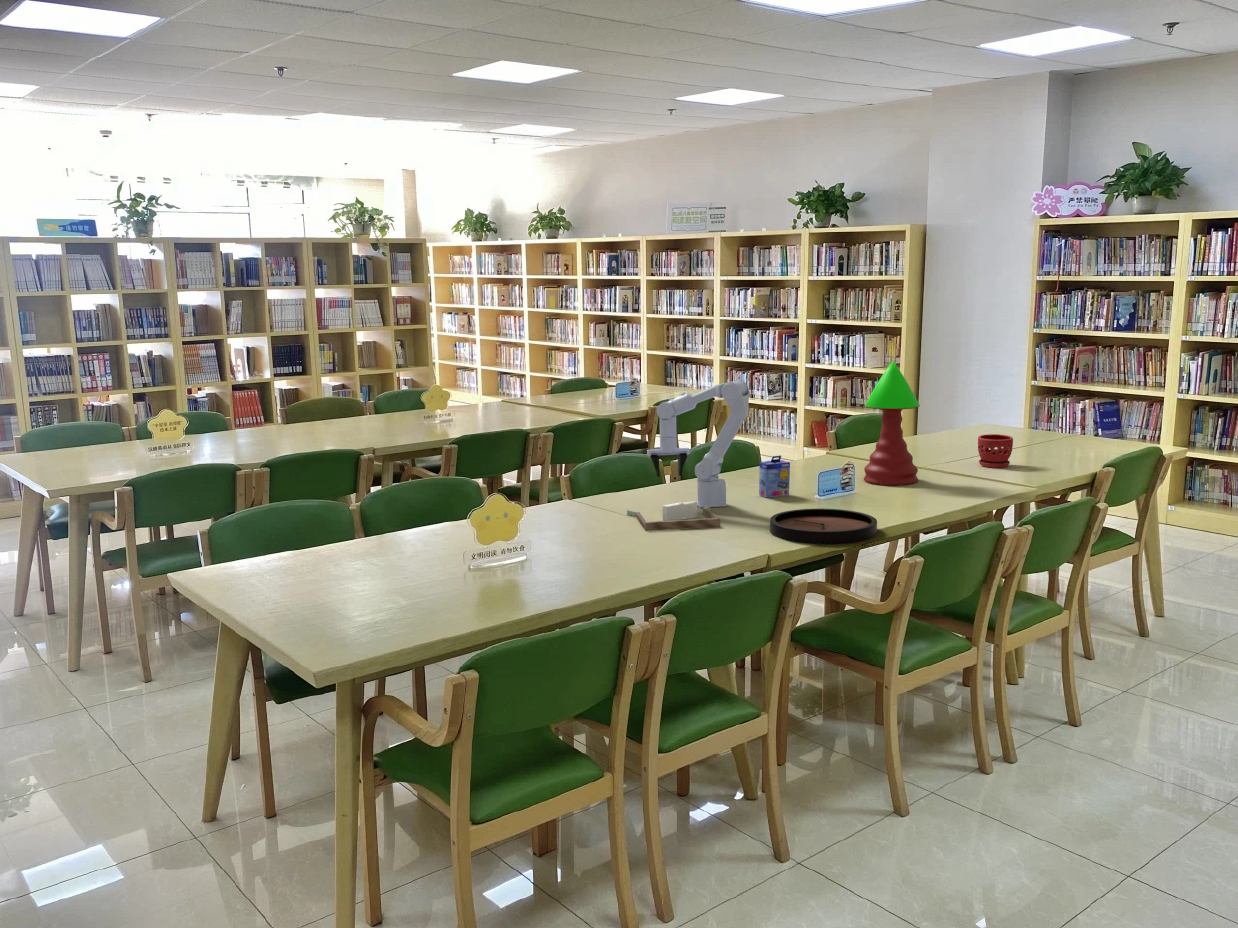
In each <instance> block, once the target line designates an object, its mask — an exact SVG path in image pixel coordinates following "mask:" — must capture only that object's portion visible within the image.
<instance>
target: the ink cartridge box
mask: <svg viewBox="0 0 1238 928" xmlns="http://www.w3.org/2000/svg"><path fill="white" fill-rule="evenodd" d="M781 458H782V455H773V456H772V457H771V460H765V461H759V471H758V472H759V475H758V476H759V478H758V479H759V490H758V491H759V492H758V493H759V494H758V495H759V496H760V497H763V498H765V499H769V498H771V499H772V498H778V497H786V496H787V497H788V496H790V473H791V462H790V461H788V460H783V459H781Z"/></svg>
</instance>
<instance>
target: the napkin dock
mask: <svg viewBox="0 0 1238 928" xmlns="http://www.w3.org/2000/svg"><path fill="white" fill-rule="evenodd" d="M711 510H712V507H711V506H706V507H703V508H702V515H704V516H705V517H706V518H695V519H693V518H691V519H679V520H674V521H663V520H658V521H646V520H645V517H643V515H642V514H641V512H640V511H635V510H632V509H627V510H626V515H627V516H630V515H632V517H635V518H636V519H637V521H638V522H639V524H640V525H641V527H642V528H643V529H644V531H645V532H646V531H647V532H652V531H653V532H654V531H668V530H686V529H702V528H704V529H705V528H720V527H721V518H720V517H716V516H715V515H713V513H711Z"/></svg>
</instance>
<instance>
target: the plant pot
mask: <svg viewBox="0 0 1238 928" xmlns="http://www.w3.org/2000/svg"><path fill="white" fill-rule="evenodd" d="M1013 447H1014V437H1012V436H1011V435H1007V434H1000V433H999V434H998V433H996V434H993V433H989V434H981V435H979V436H978V437H977V451H978V454H979V455H978V456H979V457H980V459H979V460H978V463H979V464H980V465H981V467H982V466H983V467H986V468H993V469H997V468H998V469H1001V468H1005V467H1008V466H1009V465H1010V464H1011V462H1010V460H1009V459H1010V458H1011V456H1012V455H1011V454H1012V452H1013ZM996 448H997V449H996Z"/></svg>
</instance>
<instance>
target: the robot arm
mask: <svg viewBox="0 0 1238 928" xmlns="http://www.w3.org/2000/svg"><path fill="white" fill-rule="evenodd" d="M750 393H751V391H750V390H749V387H748V384H747V383H746V381H744V380H742V379H736V380H733V381H727V382H723V383H719V384H716V385H713V386H710V387H709V388H706V389H704V390H701V391H699V392H697V393H695V394H692V393H690V392H682V393H680V396H677V397H675V398H673V397H671V398H669V399H668V401H662V402H661V403H660V404H658V405H657V408H656V414H657V416H658V417H659V448H654V449H647V450H646V455H647V457H650V460H651V462H652V464H653V467H654V470H655V475H656V477H657V478H658V477H659V478H660V458H659V456H670V455H671V456H675V455H677V461H678V462H677V463H678V467H677V469H678V471H677V473H678V474H677V475H678V476H682V475H683V474H682V472H683V469H684V465H685V463H686V461H687V459H688V455H690V454H691V452H690V451H691V449H690V447H678V445H677V443H678V441H677V439H678V438H677V416H679V415H681V414H683V413H684V414H685V413H686V412H689V411H692V410H694V409H695V408H696V406H697V404H699V403H701V402H705V401H707V400H710V399H712V398H715V397H716V398H718V399H721V398H723V400H724V401H725V402H726V404H727V406H729V410H730V414H729V415H728V418H727V419H726V420H725V423H724V424H723V426H722V428H721V430H720V432H719V433H718V435H717V437H716V439H715V440H714V442H713V444H712V446H711V447H710V449H709V451H708V452H707V453H706V454H705V455H704V456H703V458H702V459H701V461H699V462H698V463H697V464H696V465H695V467H694V475H695V476H696V478H697V501H696V502H697V508H699V509H700V508H702V509H703V508H704V507H706V506H711V508H718V507H727V506H728V504H727V486H726V485H727V483H726V480H725V479H724V478H720V476H719V474H720V473H721V470H722V464H723V462H724V457H725V455H726V453H727V451H728V449H729V448H730V446H731V444H732V442H733V441H734V439H735V437H736V436H737V434H738V432H739V430H740V428H741V427H742V425H743V423H744V421H745V420H746V418H747V416H748V415H749V408H750V406H749V398H750Z"/></svg>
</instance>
